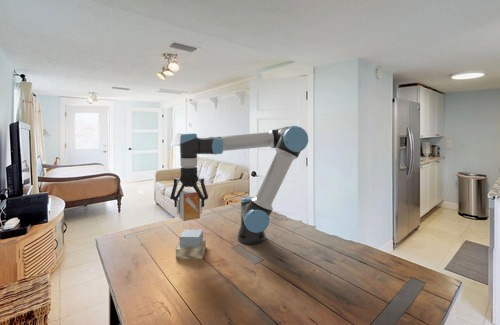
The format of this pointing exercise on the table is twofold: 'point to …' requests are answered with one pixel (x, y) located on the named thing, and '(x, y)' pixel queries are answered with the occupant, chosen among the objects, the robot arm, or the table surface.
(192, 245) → the tower top
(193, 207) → the small box
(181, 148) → the robot arm
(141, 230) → the table surface
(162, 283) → the table surface
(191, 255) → the tower base
